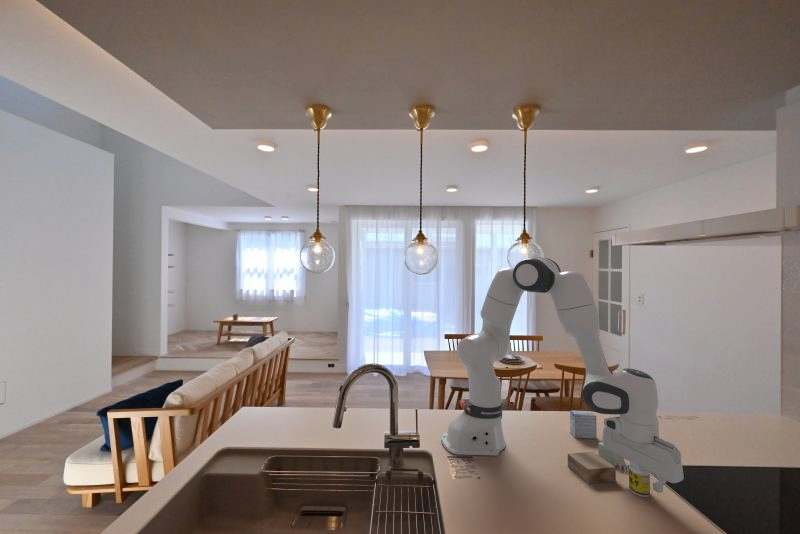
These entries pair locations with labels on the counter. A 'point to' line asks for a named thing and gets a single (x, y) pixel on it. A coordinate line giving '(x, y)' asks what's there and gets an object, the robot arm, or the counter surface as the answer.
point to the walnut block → (591, 467)
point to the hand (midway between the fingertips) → (640, 481)
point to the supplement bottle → (639, 480)
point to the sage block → (607, 454)
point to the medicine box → (583, 424)
